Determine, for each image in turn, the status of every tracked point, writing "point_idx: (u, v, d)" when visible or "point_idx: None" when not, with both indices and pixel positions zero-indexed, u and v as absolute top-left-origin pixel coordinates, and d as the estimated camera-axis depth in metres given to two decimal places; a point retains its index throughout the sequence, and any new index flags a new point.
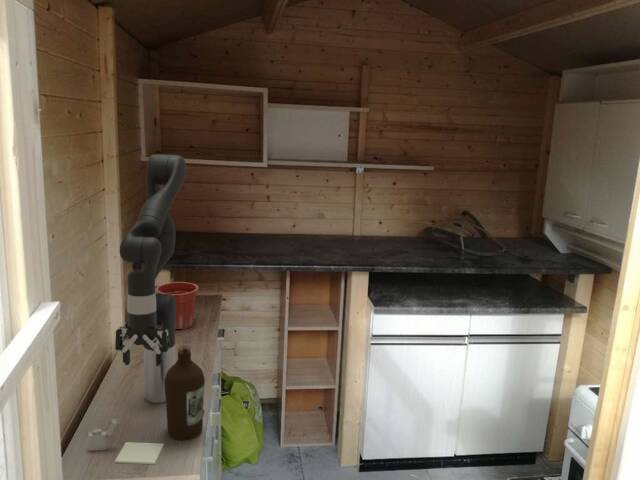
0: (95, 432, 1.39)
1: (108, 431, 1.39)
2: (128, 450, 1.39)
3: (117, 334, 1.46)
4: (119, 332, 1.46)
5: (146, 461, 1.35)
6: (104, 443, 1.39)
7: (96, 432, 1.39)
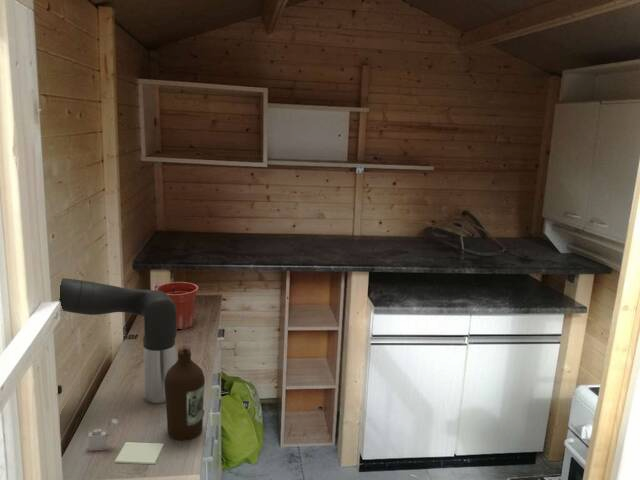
0: (95, 432, 1.39)
1: (108, 431, 1.39)
2: (128, 450, 1.39)
3: None
4: None
5: (146, 461, 1.35)
6: (104, 443, 1.39)
7: (96, 432, 1.39)
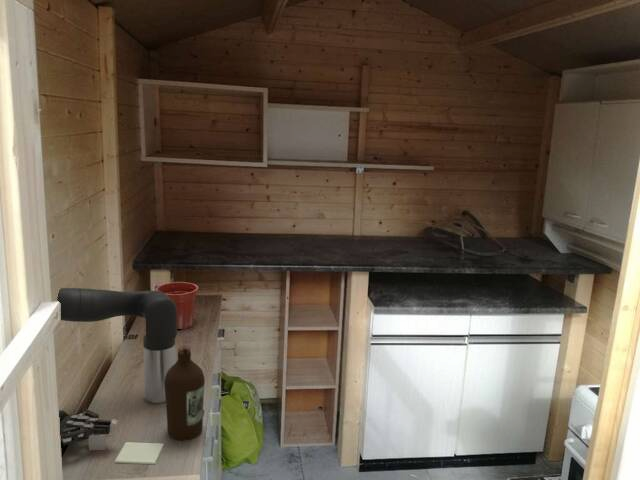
0: None
1: None
2: (128, 450, 1.39)
3: None
4: None
5: (146, 461, 1.35)
6: (103, 443, 1.39)
7: None
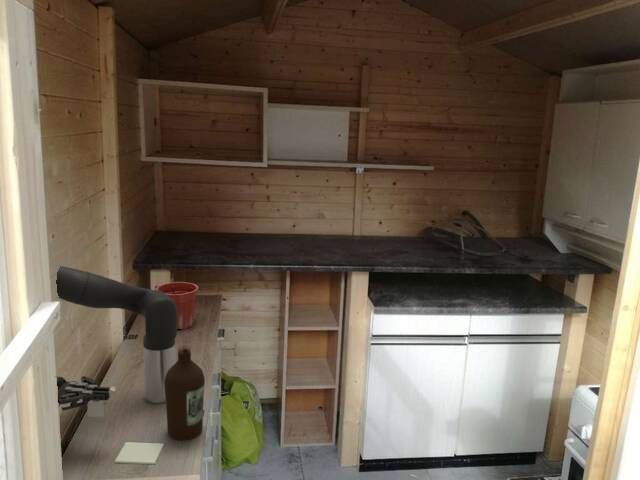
0: None
1: None
2: (128, 450, 1.39)
3: None
4: None
5: (146, 461, 1.35)
6: (102, 410, 1.37)
7: None
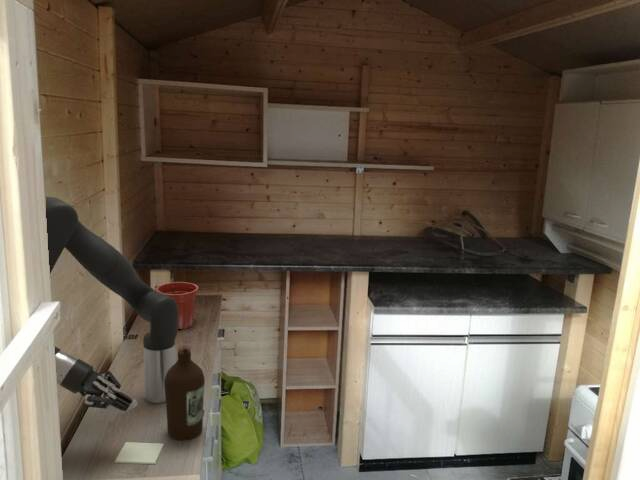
0: None
1: None
2: (128, 450, 1.39)
3: None
4: None
5: (146, 461, 1.35)
6: (114, 416, 1.37)
7: None
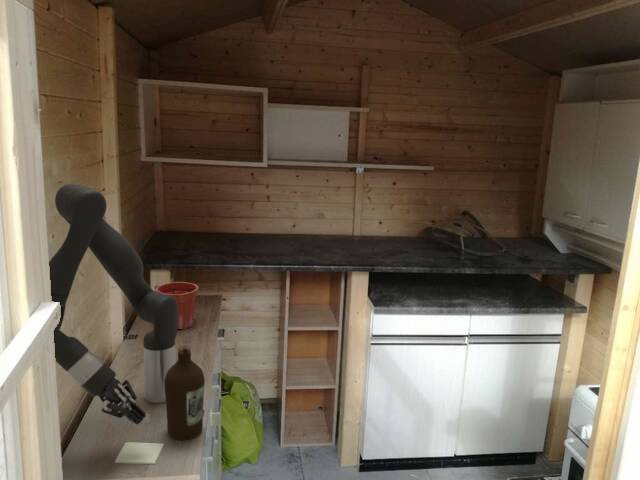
0: None
1: None
2: (128, 450, 1.39)
3: None
4: None
5: (146, 461, 1.35)
6: (124, 427, 1.37)
7: None
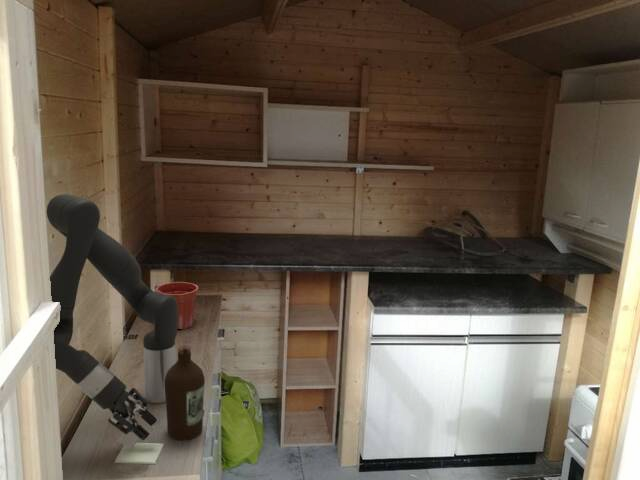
0: None
1: None
2: (128, 450, 1.39)
3: None
4: None
5: (146, 461, 1.35)
6: (133, 442, 1.38)
7: None
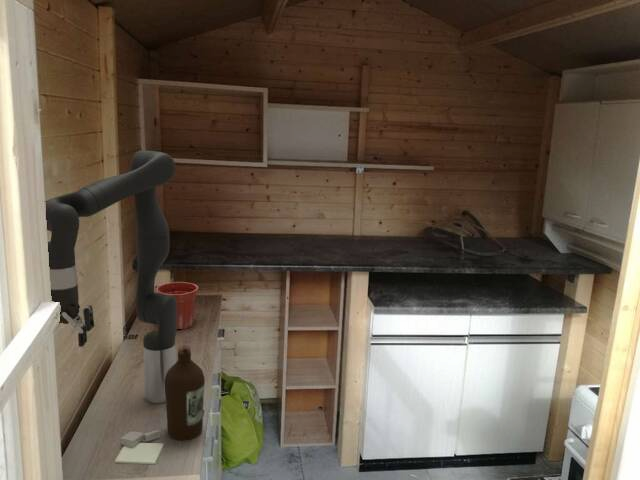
0: (137, 432, 1.45)
1: (148, 433, 1.44)
2: (128, 450, 1.39)
3: None
4: None
5: (146, 461, 1.35)
6: (136, 437, 1.42)
7: (138, 432, 1.45)
